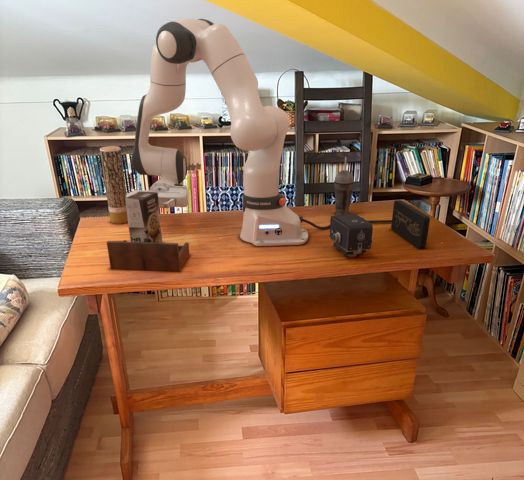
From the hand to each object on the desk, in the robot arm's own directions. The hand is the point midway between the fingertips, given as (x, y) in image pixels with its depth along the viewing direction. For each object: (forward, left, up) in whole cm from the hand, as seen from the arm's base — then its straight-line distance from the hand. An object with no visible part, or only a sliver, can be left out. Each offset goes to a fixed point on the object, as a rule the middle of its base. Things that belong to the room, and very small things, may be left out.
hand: (151, 205), depth 171 cm
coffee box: (0, +8, -11) cm, 14 cm away
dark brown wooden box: (-5, +21, -11) cm, 24 cm away
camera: (-63, +8, -11) cm, 64 cm away
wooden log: (+17, -16, -11) cm, 26 cm away
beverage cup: (-62, -33, -11) cm, 71 cm away
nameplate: (-82, -7, -11) cm, 83 cm away
